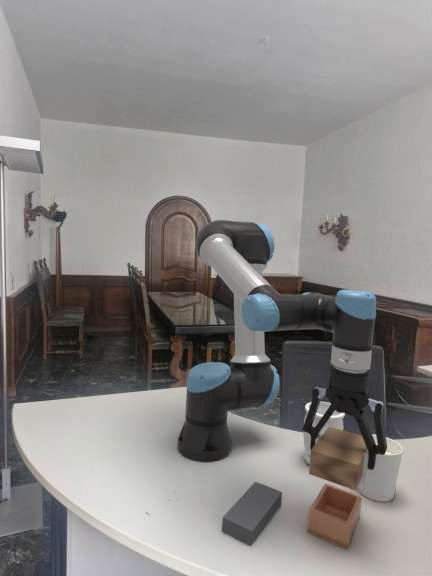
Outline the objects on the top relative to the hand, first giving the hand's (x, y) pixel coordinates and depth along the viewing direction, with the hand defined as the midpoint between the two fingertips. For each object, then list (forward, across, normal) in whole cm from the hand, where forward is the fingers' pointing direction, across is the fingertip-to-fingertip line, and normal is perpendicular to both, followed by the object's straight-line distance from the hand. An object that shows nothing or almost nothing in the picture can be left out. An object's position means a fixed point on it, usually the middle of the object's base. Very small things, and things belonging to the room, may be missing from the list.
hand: (339, 474), depth 82 cm
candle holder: (+12, +5, +18) cm, 22 cm away
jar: (+11, -10, +23) cm, 28 cm away
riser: (+11, -15, -8) cm, 21 cm away
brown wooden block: (-2, 0, 0) cm, 2 cm away
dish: (+11, 0, 0) cm, 11 cm away
